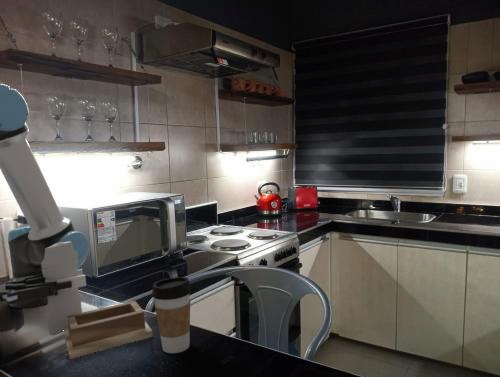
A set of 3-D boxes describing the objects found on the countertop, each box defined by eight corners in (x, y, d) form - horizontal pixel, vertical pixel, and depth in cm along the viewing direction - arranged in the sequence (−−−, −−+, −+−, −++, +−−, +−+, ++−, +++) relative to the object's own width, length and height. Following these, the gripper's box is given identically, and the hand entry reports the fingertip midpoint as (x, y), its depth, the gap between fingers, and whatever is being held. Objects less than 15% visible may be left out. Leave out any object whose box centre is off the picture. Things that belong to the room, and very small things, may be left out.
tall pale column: (77, 317, 110) (69, 237, 108) (88, 319, 108) (81, 238, 106) (43, 334, 100) (33, 247, 98) (55, 337, 99) (45, 248, 96)
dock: (64, 335, 99) (61, 313, 99) (138, 317, 108) (136, 296, 108) (69, 359, 87) (67, 335, 87) (152, 336, 96) (150, 314, 95)
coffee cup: (187, 357, 85) (182, 287, 84) (150, 355, 87) (144, 287, 86) (200, 338, 93) (195, 275, 92) (165, 337, 95) (160, 274, 94)
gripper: (-18, 300, 103) (81, 281, 114) (-25, 327, 87) (90, 301, 98) (-21, 272, 102) (78, 255, 113) (-30, 292, 86) (87, 271, 97)
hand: (83, 277), depth 106 cm, fingers closed on tall pale column, 6 cm apart
